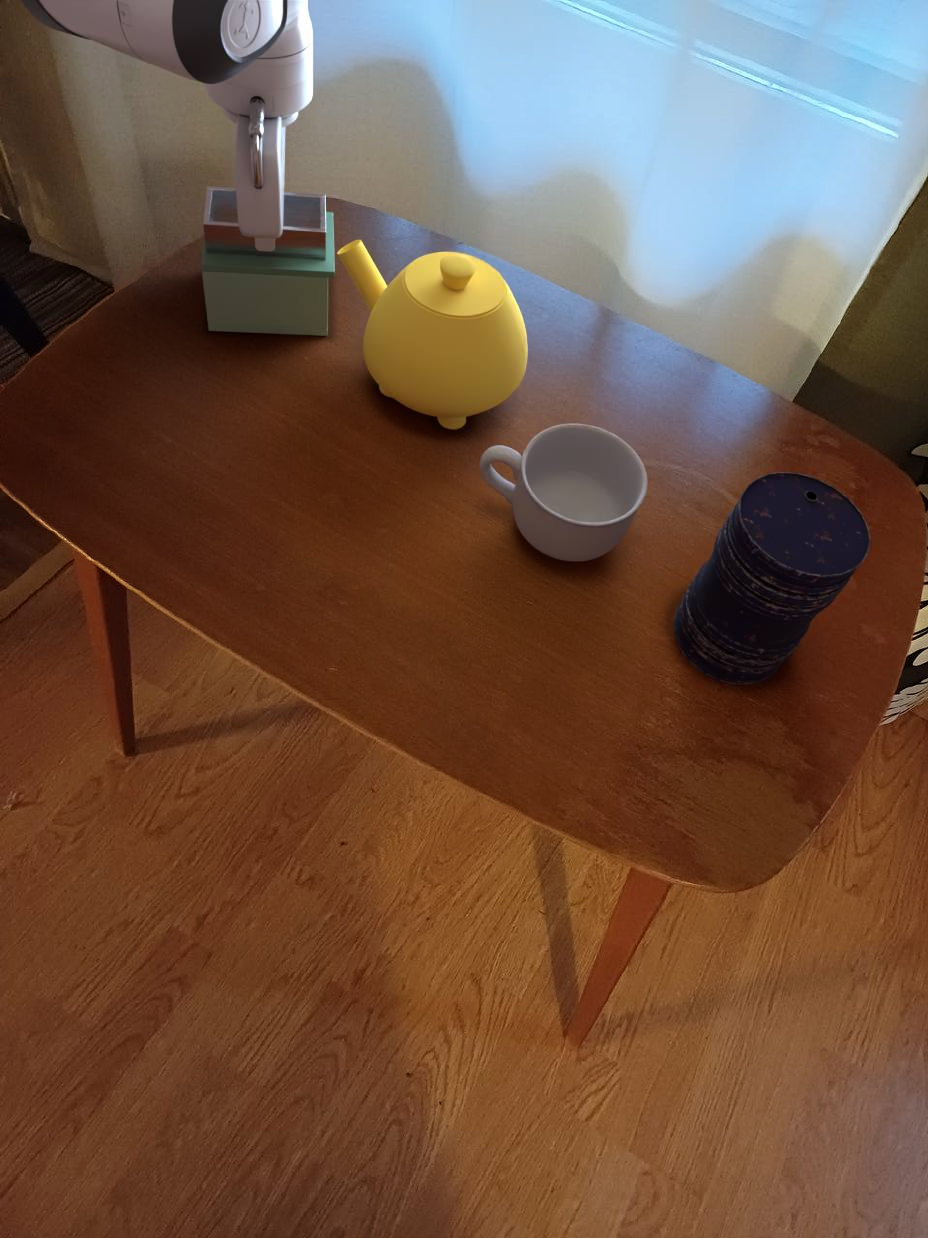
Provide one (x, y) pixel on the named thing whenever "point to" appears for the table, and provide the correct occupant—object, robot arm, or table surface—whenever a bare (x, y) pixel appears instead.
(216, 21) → the robot arm
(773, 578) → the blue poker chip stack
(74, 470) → the table surface
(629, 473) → the teacup
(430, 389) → the teapot
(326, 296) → the lunchbox
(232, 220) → the open storage tray
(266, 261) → the lunchbox lid
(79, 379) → the table surface
